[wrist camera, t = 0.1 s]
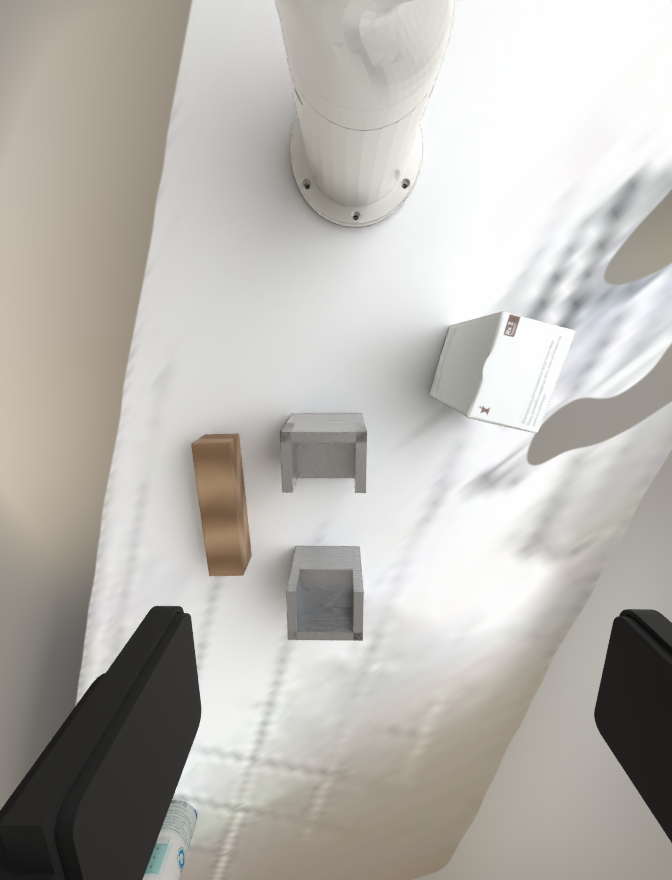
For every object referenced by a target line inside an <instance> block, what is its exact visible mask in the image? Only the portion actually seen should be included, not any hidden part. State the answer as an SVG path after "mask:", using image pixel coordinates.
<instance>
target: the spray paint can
mask: <svg viewBox="0 0 672 880" xmlns="http://www.w3.org/2000/svg"><path fill="white" fill-rule="evenodd" d="M196 819H197V814H196V811H195V809H194V808H193V807H192V806H191V805H189V804H187V803H185V802H182V801H171V804H170V806H169V809H168V812H167V815H166V817H165V820H164V823H163V825H162V828H161V831H160V834H159V836H158V839H157V842H156V845H155V847H154V850H153V853H152V855H151V858H150V861H149V864H148V866H147V869H146V872H145V874H144V877H143V880H179V879H180V875H181V872H182V868H183V865H184V862H185V858H186V855H187V851H188V848H189V845H190V841H191V838H192V834H193V831H194V828H195V824H196Z"/></svg>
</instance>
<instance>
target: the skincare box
mask: <svg viewBox="0 0 672 880" xmlns="http://www.w3.org/2000/svg"><path fill="white" fill-rule="evenodd" d="M574 334H575V330H570V329H567V328H563V327H559V326H555V325H552V324H548V323H544V322H541V321H537V320H533V319H529V318H526V317H522V316H519V315H515V314H511V313H508V312H504V311H502V312H498V313H495V314H491V315H487V316H484V317H480V318H476V319H472V320H469V321H465V322H461V323H458V324H454V325H450V328H449V330H448V333H447V337H446V340H445V343H444V346H443V349H442V353H441V356H440V359H439V363H438V366H437V369H436V373H435V376H434V381H433V384H432V387H431V390H430V393H429V395H430V396H431V397H433V398H435V399H437V400H438V401H440V402H442V403H444V404H446V405H447V406H449V407H451V408H453V409H455V410H456V411H458V412H460V413H462V414H463V415H465V416H466V417H467V418H471V419H475V420H479V421H483V422H487V423H492V424H496V425H500V426H505V427H510V428H515V429H519V430H524V431H528V432H534V433H537V432H538V431H539V428H540V426H541V423H542V420H543V417H544V415H545V412H546V410H547V407H548V404H549V402H550V399H551V396H552V394H553V391H554V388H555V386H556V383H557V380H558V377H559V375H560V372H561V369H562V367H563V364H564V361H565V359H566V356H567V353H568V350H569V348H570V345H571V342H572V340H573V337H574Z"/></svg>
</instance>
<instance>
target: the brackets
mask: <svg viewBox="0 0 672 880" xmlns="http://www.w3.org/2000/svg"><path fill="white" fill-rule="evenodd" d="M280 442H281V468H282V492H293V490H294V487H295V484H296V481H297V478H354V485H355V493H366V448H367V431H366V427H365V423H364V420H363V416H362V413H292V414H291V416H290V417H289V419H288V420H287V422H286V424H285V425H284V427H283V428H282V430H281V431H280ZM363 593H364V592H363V580H362V568H361V557H360V547H347V546H296V549H295V553H294V558H293V563H292V567H291V572H290V576H289V581H288V585H287V590H286V599H287V625H288V640H361V641H363Z"/></svg>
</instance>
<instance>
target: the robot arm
mask: <svg viewBox="0 0 672 880" xmlns="http://www.w3.org/2000/svg"><path fill="white" fill-rule="evenodd" d="M274 1H275V4H276V8H277V12H278V16H279V20H280V25H281V29H282V34H283V39H284V44H285V49H286V54H287V60H288V65H289V70H290V75H291V80H292V85H293V90H294V96H295V101H296V106H297V111H298V115H297V117H296V120H295V122H294V126H293V130H292V135H291V146H290V155H291V164H292V169H293V173H294V177H295V179H296V182H297V185H298V187H299V190H300V191H301V193H302V195H303V196H304V198H305V200H306V201H307V202H308V204H309V205H310V206H311V207H312V208H313V209H314V210H315V211H316V212H317V213H318V214H320V215H321V216H322V217H324V218H325V219H327V220H329V221H331V222H333V223H335V224H339V225H343V226H348V227H361V226H367V225H372V224H374V223H377V222H379V221H382V220H383V219H385V218H386V217H388V216H390V215H391V214H393V213H394V212H395V211H396V210H397V209H398V208H399V207H400V206H401V205H402V204H403V202H404V201H405V200H406V198H407V197H408V196H409V194H410V192H411V190H412V188H413V187H414V184H415V182H416V179H417V177H418V174H419V171H420V167H421V162H422V155H423V138H422V130H421V126H420V122H421V120H422V117H423V114H424V111H425V109H426V106H427V103H428V101H429V98H430V95H431V92H432V90H433V87H434V84H435V81H436V78H437V76H438V73H439V70H440V67H441V65H442V62H443V59H444V56H445V53H446V50H447V47H448V43H449V39H450V35H451V30H452V24H453V14H454V0H274ZM403 184H405V185H406V186H407V188H406V189H404V188H403V187H402V185H403ZM306 185H309V186H310V188H309V189H306V188H305V186H306ZM354 216H357V217H358V219H357V220H354V219H353V217H354ZM594 717H595V722H596V725H597V728H598V730H599V732H600V734H601V735H602V737H603V738H604V740H605V741H606V743H607V745H608V746H609V747H610V749H611V751H612V752H613V754H614V755H615V757H616V758H617V760H618V761H619V763H620V764H621V766H622V767H623V769H624V770H625V772H626V774H627V775H628V776H629V778H630V780H631V781H632V783H633V784H634V786H635V787H636V789H637V790H638V792H639V793H640V795H641V796H642V798H643V800H644V801H645V803H646V804H647V806H648V807H649V809H650V810H651V812H652V813H653V815H654V816H655V818H656V819H657V821H658V822H659V824H660V826H661V827H662V828H663V830H664V831H665V833H666V835H667V836H668V838H669V839H670V840H671V842H672V623H671V622H670V621H669V620H668V619H667V618H665V617H664V616H663V615H662V614H661V613H659V612H657V611H655V610H640V609H639V610H636V609H627V610H623V611H622V612H621V613H620V616H619V617H616V618H615V619H614V622H613V626H612V631H611V635H610V640H609V645H608V649H607V654H606V659H605V664H604V668H603V673H602V678H601V683H600V687H599V692H598V697H597V702H596V706H595V712H594ZM200 719H201V701H200V692H199V683H198V674H197V666H196V657H195V648H194V640H193V631H192V622H191V616H190V614H188V613H184V612H183V609H182V607H180V606H155V607H153V608H152V609H151V610H150V611H149V612H148V614H147V615H146V617H145V618H144V620H143V621H142V622H141V624H140V625H139V627H138V628H137V630H136V631H135V632H134V634H133V635H132V637H131V638H130V639H129V641H128V642H127V644H126V645H125V647H124V648H123V649H122V651H121V652H120V654H119V655H118V656H117V658H116V659H115V661H114V662H113V664H112V665H111V666H110V668H109V669H108V671H107V672H106V673H104V674H102V675H101V676H99V677H98V678H97V679H96V680H95V681H94V682H93V683H92V684H91V686H90V687H89V689H88V690H87V691H86V693H85V694H84V695H83V697H82V698H81V700H80V701H79V702H78V704H77V705H76V707H75V708H74V709H73V711H72V712H71V713H70V715H69V716H68V718H67V719H66V720H65V722H64V723H63V725H62V726H61V728H60V729H59V730H58V731H57V733H56V734H55V736H54V737H53V738H52V740H51V741H50V743H49V744H48V745H47V747H46V748H45V750H44V751H43V752H42V754H41V755H40V756H39V758H38V759H37V761H36V762H35V764H34V765H33V766H32V767H31V769H30V770H29V772H28V773H27V774H26V776H25V777H24V779H23V780H22V781H21V783H20V784H19V785H18V787H17V788H16V790H15V791H14V792H13V794H12V795H11V796H10V798H9V799H8V801H7V802H6V804H5V805H4V806H3V808H2V809H1V810H0V880H143V877H144V874H145V872H146V869H147V866H148V864H149V861H150V858H151V855H152V853H153V850H154V847H155V845H156V842H157V839H158V836H159V834H160V831H161V828H162V825H163V823H164V820H165V817H166V815H167V812H168V809H169V806H170V804H171V801H172V798H173V796H174V793H175V790H176V787H177V785H178V782H179V779H180V777H181V774H182V771H183V768H184V766H185V763H186V760H187V757H188V755H189V752H190V749H191V747H192V744H193V741H194V738H195V736H196V733H197V730H198V727H199V723H200Z"/></svg>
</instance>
